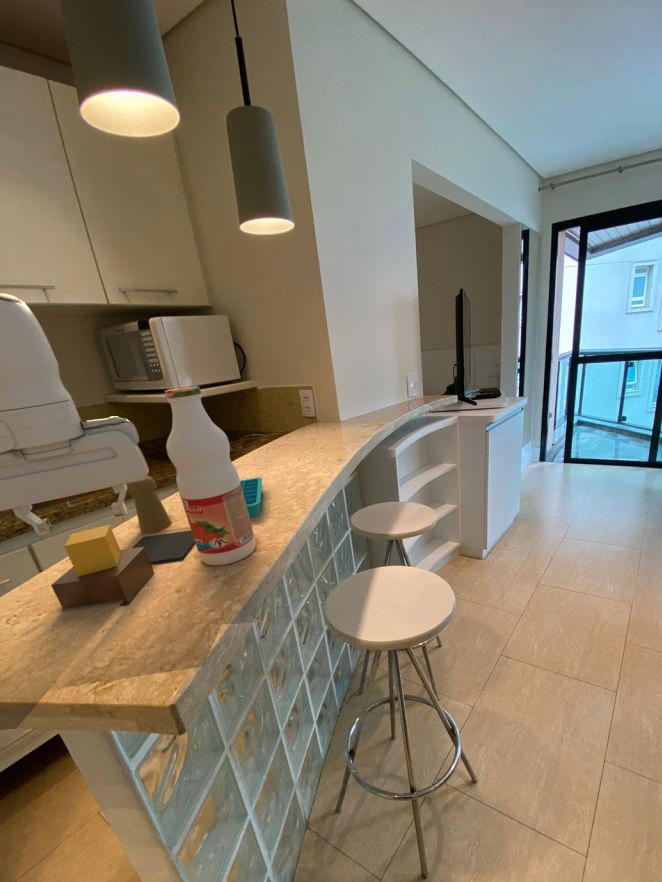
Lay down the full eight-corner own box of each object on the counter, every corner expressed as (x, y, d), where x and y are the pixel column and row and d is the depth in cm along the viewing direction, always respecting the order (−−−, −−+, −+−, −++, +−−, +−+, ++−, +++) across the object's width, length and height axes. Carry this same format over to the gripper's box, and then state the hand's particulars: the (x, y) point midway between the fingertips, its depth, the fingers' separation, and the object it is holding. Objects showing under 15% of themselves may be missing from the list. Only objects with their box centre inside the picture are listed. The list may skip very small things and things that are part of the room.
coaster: (113, 569, 70) (112, 567, 70) (143, 538, 82) (143, 536, 81) (183, 559, 71) (182, 557, 71) (204, 530, 82) (203, 528, 82)
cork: (159, 532, 84) (141, 481, 79) (134, 533, 85) (114, 483, 81) (177, 519, 89) (161, 472, 85) (153, 520, 90) (136, 473, 86)
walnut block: (65, 614, 59) (50, 585, 57) (99, 580, 67) (87, 554, 65) (128, 605, 59) (116, 575, 57) (154, 572, 68) (144, 546, 66)
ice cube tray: (264, 487, 104) (261, 476, 102) (263, 517, 85) (260, 503, 84) (216, 496, 101) (213, 485, 100) (205, 528, 83) (201, 514, 82)
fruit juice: (266, 550, 71) (224, 383, 60) (212, 573, 65) (156, 394, 54) (243, 535, 78) (202, 383, 67) (193, 555, 72) (139, 392, 61)
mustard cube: (78, 577, 58) (63, 546, 56) (84, 562, 63) (71, 533, 61) (117, 566, 60) (104, 536, 58) (121, 552, 64) (109, 524, 62)
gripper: (132, 411, 60) (163, 498, 65) (-45, 440, 52) (7, 535, 58) (128, 416, 54) (162, 510, 60) (-70, 448, 47) (-11, 553, 52)
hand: (84, 523), depth 59 cm, fingers open, 8 cm apart
